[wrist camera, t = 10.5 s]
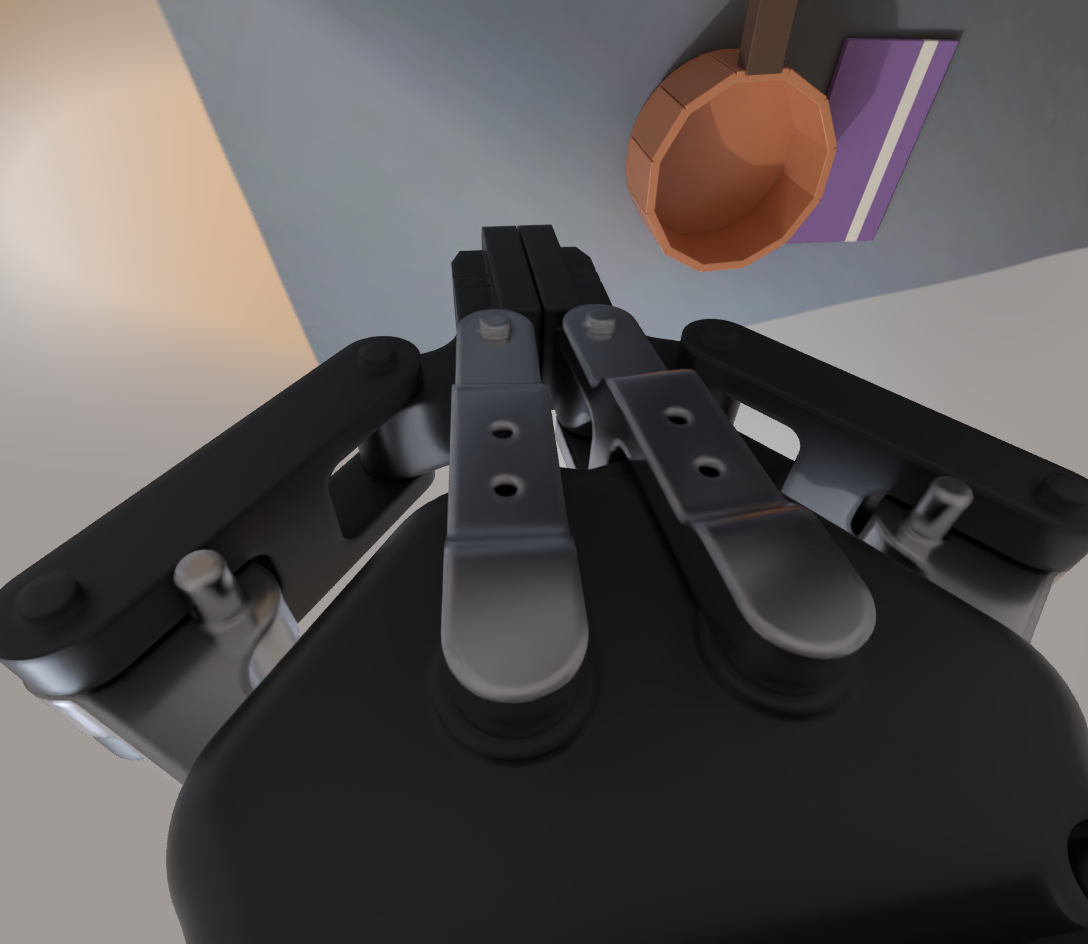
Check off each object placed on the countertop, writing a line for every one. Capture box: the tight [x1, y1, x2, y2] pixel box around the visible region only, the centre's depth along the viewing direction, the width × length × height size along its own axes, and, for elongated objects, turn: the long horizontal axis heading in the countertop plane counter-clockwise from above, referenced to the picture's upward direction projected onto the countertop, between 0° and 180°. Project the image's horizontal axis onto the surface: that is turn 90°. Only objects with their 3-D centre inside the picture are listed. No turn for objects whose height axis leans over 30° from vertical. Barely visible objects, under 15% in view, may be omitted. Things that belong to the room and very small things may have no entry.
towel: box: [785, 38, 959, 244], centre depth 36 cm, size 11×6×1 cm, turn 178°
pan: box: [626, 0, 837, 272], centre depth 31 cm, size 17×10×5 cm, turn 1°
